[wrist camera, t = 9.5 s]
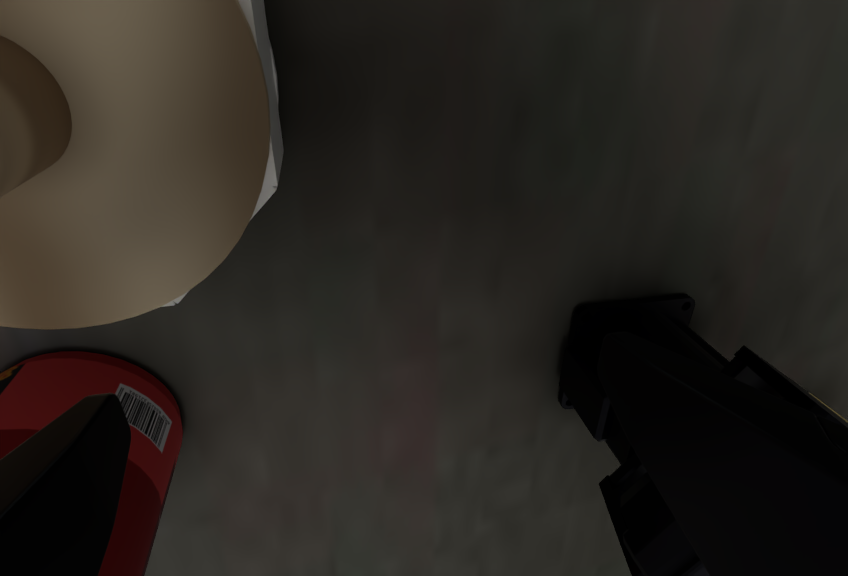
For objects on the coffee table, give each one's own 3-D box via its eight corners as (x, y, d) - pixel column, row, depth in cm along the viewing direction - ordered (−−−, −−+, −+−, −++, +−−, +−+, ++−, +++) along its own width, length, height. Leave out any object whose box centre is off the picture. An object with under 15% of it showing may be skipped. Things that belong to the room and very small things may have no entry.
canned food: (-19, 329, 20) (-322, 628, 10) (199, 361, 22) (119, 622, 13) (-15, 467, 23) (-243, 794, 13) (176, 481, 25) (98, 762, 16)
